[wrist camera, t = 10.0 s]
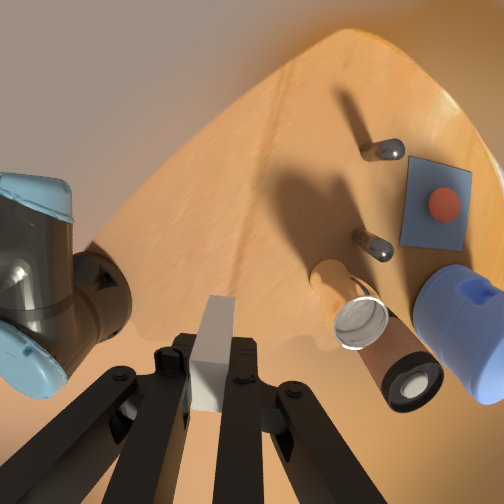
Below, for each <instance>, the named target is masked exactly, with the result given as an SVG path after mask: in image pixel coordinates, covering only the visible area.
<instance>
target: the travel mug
mask: <svg viewBox="0 0 504 504" xmlns="http://www.w3.org/2000/svg"><path fill="white" fill-rule="evenodd" d="M386 307H387V306H386ZM387 309H388V314H389V320H388V324H387V327H386V330H385V331H384V333H383V335H382V336H381V337H380V338H379V339H378V340H377V341H376V342H375V343H373V344H372V345H370V346H368V347H365V348H362V349H357V351H358V352H359V354H360V356H361V358H362V360H363V361H364V363H365V365H366V367H367V368H368V370H369V372H370V374H371V375H372V377H373V379H374V381H375V382H376V384H377V386H378V388H379V390H380V391H381V393H382V395H383V397H384V398H385V400H386V402H387V404H388V405H389V407H390V408H391V409H392V410H393V411H395V412H397V413H408V412H412V411H414V410H417V409H419V408H421V407H422V406H424V405H425V404H427V403H428V402H429V401H430V400H431V399H432V398H433V397H434V396H435V395H436V394H437V392H438V391H439V389H440V387H441V386H442V383H443V380H444V370H443V368H442V366H441V365H440V364H439V362H438V361H437V360H436V359H435V358H434V357H433V356H432V354H431V353H430V352H429V351H428V350H427V349H426V347H425V346H424V345H423V344H422V343H421V342H420V341H419V339H418V338H417V337H416V336H415V335H414V334H413V333H412V332H411V331H410V329H409V328H408V327H407V326H406V325H405V324H404V323H403V322H402V321H401V320H400V319H399V318H398V317H397V316H396V315H395V314H394V313H393V312H392V311H391V310H390V309H389V308H388V307H387Z"/></svg>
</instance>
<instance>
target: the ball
mask: <svg viewBox="0 0 504 504" xmlns="http://www.w3.org/2000/svg"><path fill="white" fill-rule="evenodd" d="M428 206H429V211H430V213H431V215H432V216H433V218H434V219H436V220H437V221H439V222H442V223H449V222H452V221H453V220H455V219H456V218H457V216H458V215H459V212H460V208H461V205H460V200H459V197H458V196H457V194H456V193H455V192H454V191H453V190H451V189H449V188H445V187H443V188H438V189H436V190H435V191H434V192H433V193H432V194H431V196H430V198H429V202H428Z"/></svg>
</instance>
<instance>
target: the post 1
mask: <svg viewBox="0 0 504 504" xmlns="http://www.w3.org/2000/svg"><path fill="white" fill-rule="evenodd" d="M404 154H405V146H404V144H403V143H402V141H400V140H399V139H395V138H394V139H389V140H384V141H380V142H375V143H371V144H366V145H364V146H363V147H362V149H361V156H362V158H363V159H364V160H365V161H368V162H372V161H386V160H399V159H401V158H402V157H403V156H404Z"/></svg>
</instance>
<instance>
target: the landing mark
mask: <svg viewBox="0 0 504 504" xmlns="http://www.w3.org/2000/svg"><path fill="white" fill-rule="evenodd" d="M471 184H472V173H471V172H467V171H464V170H461V169H457V168H454V167H450V166H446V165H443V164H439V163H435V162H431V161H427V160H423V159H419V158H414V157H410V156H409V165H408V177H407V188H406V198H405V206H404V214H403V222H402V229H401V236H400V242H399V245H401V246H412V247H422V248H433V249H443V250H453V251H462V249H463V244H464V238H465V232H466V226H467V219H468V212H469V204H470V195H471ZM443 187H445V188H449V189H451V190H453V191H454V192H455V193H456V194H457V196H458V197H459V200H460V205H461V208H460V212H459V215H458V216H457V218H456V219H455V220H453V221H452V222H449V223H442V222H439V221H437V220H436V219H434V218H433V216H432V215H431V213H430V211H429V206H428V202H429V198H430V196H431V194H432V193H433V192H434V191H435V190H436V189H438V188H443Z"/></svg>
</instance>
